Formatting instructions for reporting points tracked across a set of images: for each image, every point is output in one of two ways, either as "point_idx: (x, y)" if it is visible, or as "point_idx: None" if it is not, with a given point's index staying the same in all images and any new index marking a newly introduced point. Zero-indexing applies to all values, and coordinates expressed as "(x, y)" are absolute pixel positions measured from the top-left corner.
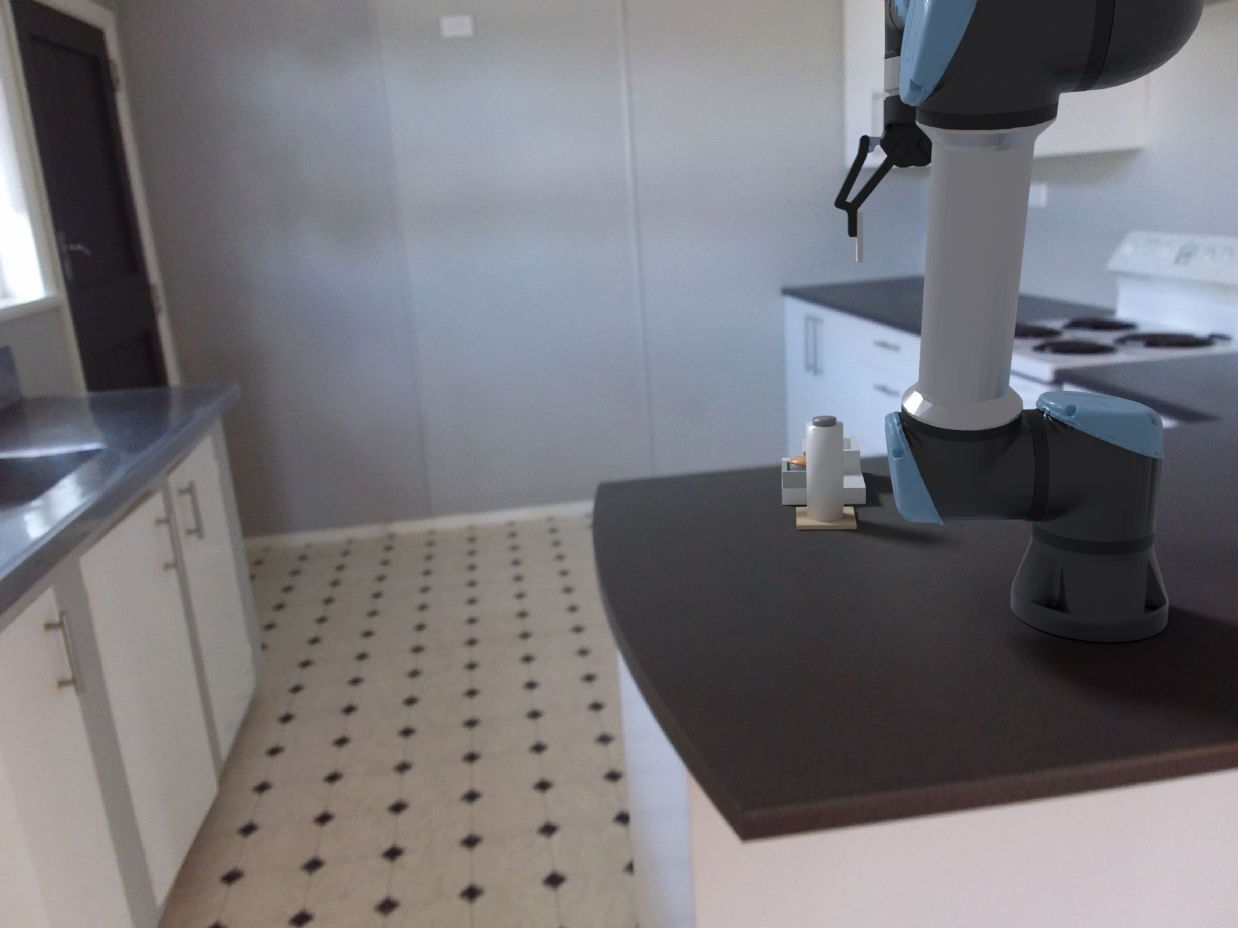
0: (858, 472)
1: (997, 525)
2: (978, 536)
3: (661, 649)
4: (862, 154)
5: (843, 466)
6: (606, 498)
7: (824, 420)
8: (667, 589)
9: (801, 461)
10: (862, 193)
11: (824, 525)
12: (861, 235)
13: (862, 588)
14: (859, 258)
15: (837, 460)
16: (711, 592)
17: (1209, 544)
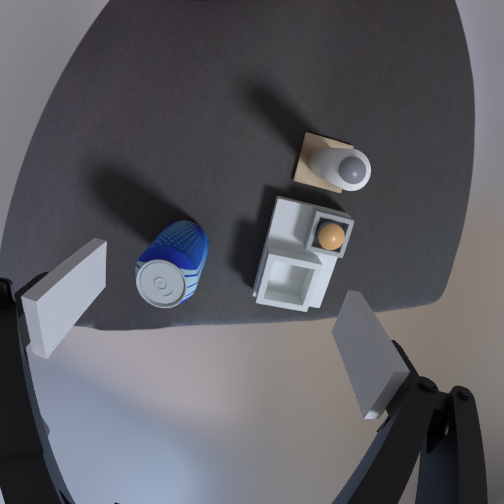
0: (269, 246)
1: (187, 115)
2: (213, 93)
3: (448, 5)
4: None
5: (283, 251)
6: (452, 265)
7: (356, 160)
8: (447, 71)
9: (336, 230)
10: (419, 424)
11: (331, 139)
12: (374, 328)
13: (335, 23)
14: (358, 297)
15: (332, 149)
16: (425, 54)
17: (75, 64)
